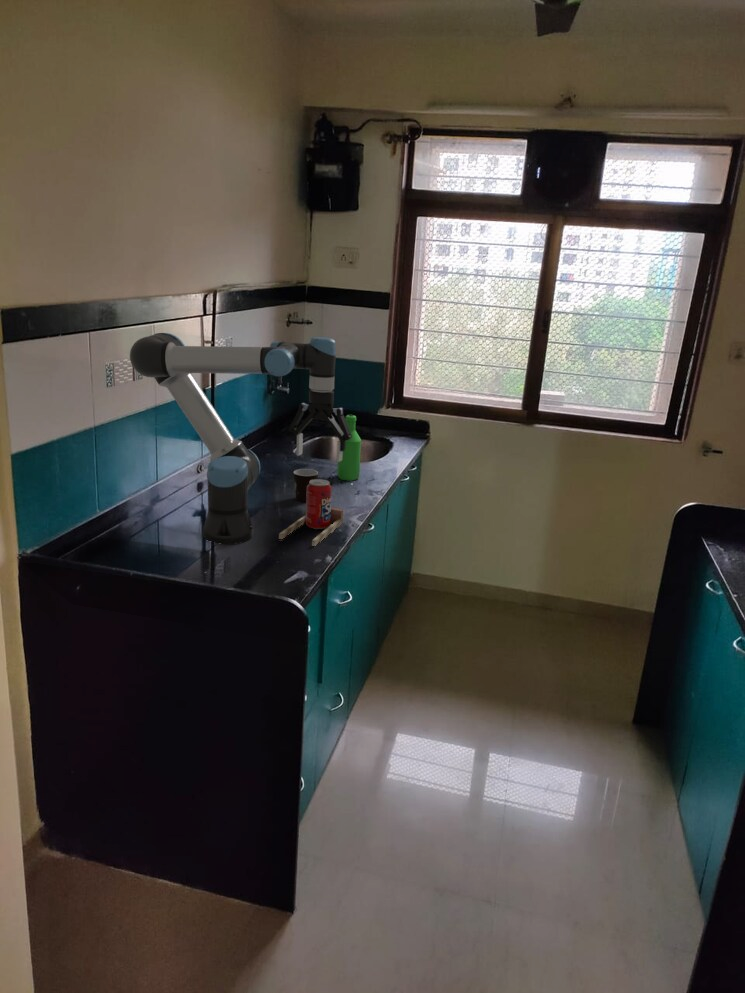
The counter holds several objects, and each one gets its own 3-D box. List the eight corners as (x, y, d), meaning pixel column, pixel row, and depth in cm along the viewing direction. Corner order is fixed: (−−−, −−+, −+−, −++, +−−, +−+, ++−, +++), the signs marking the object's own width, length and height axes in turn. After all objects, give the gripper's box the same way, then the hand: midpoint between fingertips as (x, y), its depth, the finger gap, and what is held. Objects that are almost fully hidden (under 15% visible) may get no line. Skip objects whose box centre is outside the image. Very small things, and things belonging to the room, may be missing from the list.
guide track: (314, 546, 210) (315, 531, 209) (278, 539, 214) (279, 524, 212) (342, 523, 230) (343, 509, 229) (309, 517, 234) (309, 503, 232)
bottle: (362, 480, 276) (365, 417, 268) (341, 482, 273) (344, 418, 265) (354, 474, 284) (357, 413, 276) (334, 475, 281) (336, 413, 273)
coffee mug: (313, 504, 246) (314, 477, 243) (289, 501, 248) (290, 474, 245) (322, 494, 257) (323, 468, 254) (299, 491, 259) (300, 465, 256)
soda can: (303, 523, 229) (304, 478, 224) (326, 521, 231) (327, 477, 227) (309, 531, 222) (310, 486, 217) (333, 529, 225) (335, 485, 220)
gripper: (364, 392, 212) (360, 460, 219) (289, 383, 220) (288, 449, 227) (355, 396, 206) (351, 466, 212) (278, 386, 213) (277, 454, 220)
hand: (319, 457), depth 220 cm, fingers open, 13 cm apart
